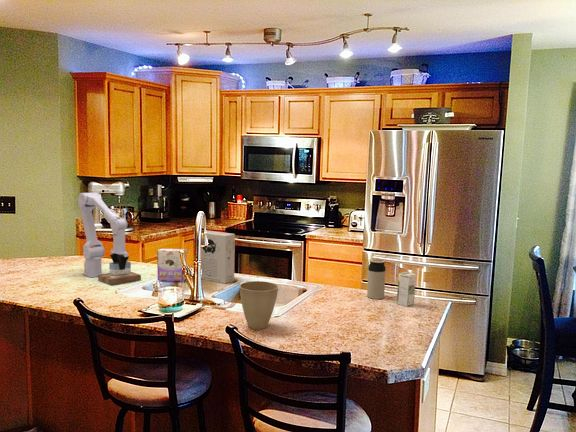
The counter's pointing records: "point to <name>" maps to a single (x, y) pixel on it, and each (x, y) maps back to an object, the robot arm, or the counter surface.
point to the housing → (119, 268)
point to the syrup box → (406, 288)
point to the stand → (119, 278)
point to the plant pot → (258, 302)
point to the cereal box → (218, 257)
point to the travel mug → (376, 279)
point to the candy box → (170, 265)
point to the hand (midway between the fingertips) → (119, 268)
